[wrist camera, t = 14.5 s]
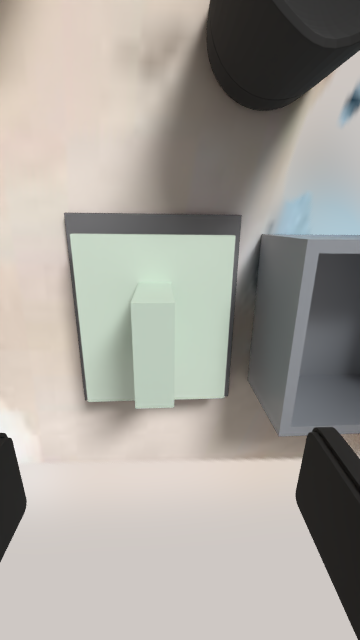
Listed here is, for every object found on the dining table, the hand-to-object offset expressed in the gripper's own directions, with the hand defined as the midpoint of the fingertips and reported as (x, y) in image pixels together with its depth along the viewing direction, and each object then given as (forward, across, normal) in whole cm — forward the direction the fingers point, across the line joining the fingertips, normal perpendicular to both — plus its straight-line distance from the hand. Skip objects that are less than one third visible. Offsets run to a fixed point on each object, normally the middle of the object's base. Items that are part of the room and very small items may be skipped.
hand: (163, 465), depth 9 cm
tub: (+18, -14, +1) cm, 23 cm away
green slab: (+17, +1, +1) cm, 17 cm away
